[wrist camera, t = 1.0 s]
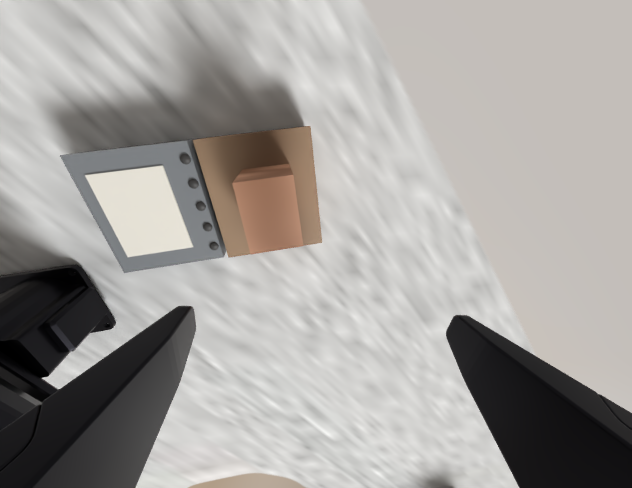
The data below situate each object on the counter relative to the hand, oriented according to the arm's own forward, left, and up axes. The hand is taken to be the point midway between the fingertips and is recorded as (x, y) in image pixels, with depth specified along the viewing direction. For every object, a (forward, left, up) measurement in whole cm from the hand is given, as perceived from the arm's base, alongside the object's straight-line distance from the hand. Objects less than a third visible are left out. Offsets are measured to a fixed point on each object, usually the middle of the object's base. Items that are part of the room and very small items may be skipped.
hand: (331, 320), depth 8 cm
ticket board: (-10, +2, -13) cm, 16 cm away
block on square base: (-2, +2, -13) cm, 13 cm away
